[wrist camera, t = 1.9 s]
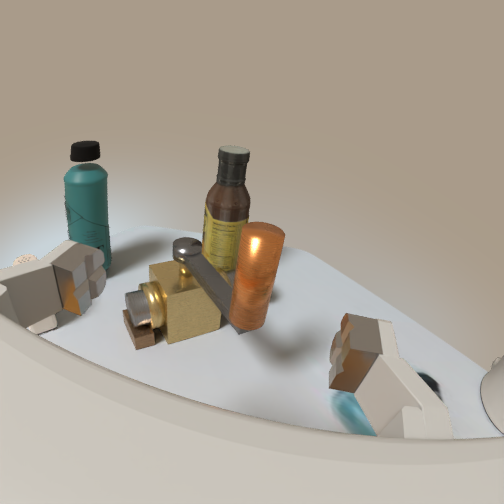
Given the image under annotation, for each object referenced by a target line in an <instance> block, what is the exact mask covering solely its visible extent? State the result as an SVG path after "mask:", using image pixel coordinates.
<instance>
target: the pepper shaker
mask: <svg viewBox="0 0 504 504" xmlns="http://www.w3.org/2000/svg"><path fill="white" fill-rule="evenodd" d="M36 259H37V258H36V257H35V256H34V255H31V254H28V255H22V256H20V257H18V258H17V259H16V260H15V261H14V263H13V266H14V265H18V264H21V263H25V262H28V261H32V260H36ZM55 327H57V320H56V316H55V314H53V315H51V316H49V317H47V318H45V319H43V320H41V321H39V322H37V323H35V324H33V325H31V326H29V329H30V331H31V332H33V333H35V334H39V333H42V332H45V331H48V330H51V329H53V328H55Z"/></svg>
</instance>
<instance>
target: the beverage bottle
mask: <svg viewBox="0 0 504 504" xmlns="http://www.w3.org/2000/svg"><path fill="white" fill-rule="evenodd" d="M98 158H100V146H99V142H96V141H81V142H76V143H74V144H72V146H71V155H70V159H71V161H74V162H87V161H93V160H96V159H98ZM107 176H108V174H107V172H106V171H105V170H104V169H103V168H102V167H101V166H100V165H98V164H94V163H85V164H79V165H76V166H73V167H72V168H71V169H70V170H69V171H68V172H67V173H66V175H65V176H64V182H65V200H66V201H65V202H66V204H65V206H66V211H67V220H68V230H69V237H70V238H69V239H70V240H72V241H75V242H78V243H81V244H84V245H88V246H91V247H94V248H97V249H100V250H101V251H102V252H103V253H104V260H105V261H104V263H103V264H102V267H103V268H104V270H106V269H108V267H109V266H110V264H111V261H112V260H111V258H112V257H111V255H112V254H111V248H110V247H111V246H110V236H109V224H108V201H107Z"/></svg>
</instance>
